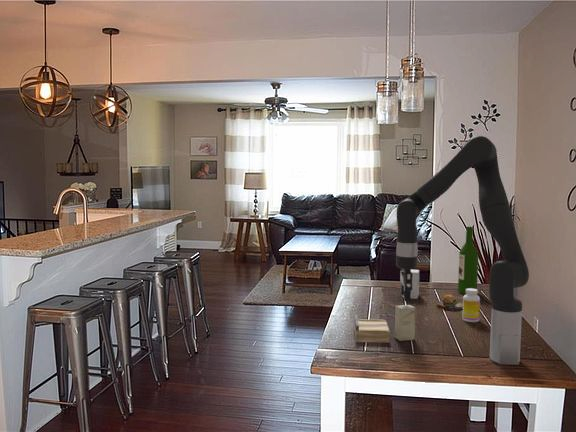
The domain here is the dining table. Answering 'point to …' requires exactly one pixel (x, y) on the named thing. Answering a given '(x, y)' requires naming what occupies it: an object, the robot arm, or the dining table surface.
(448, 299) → the burger
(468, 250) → the wine bottle
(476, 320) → the supplement bottle
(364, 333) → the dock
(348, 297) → the dining table surface
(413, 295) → the supplement box
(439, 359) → the dining table surface
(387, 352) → the dining table surface
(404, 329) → the skincare box
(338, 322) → the dining table surface
